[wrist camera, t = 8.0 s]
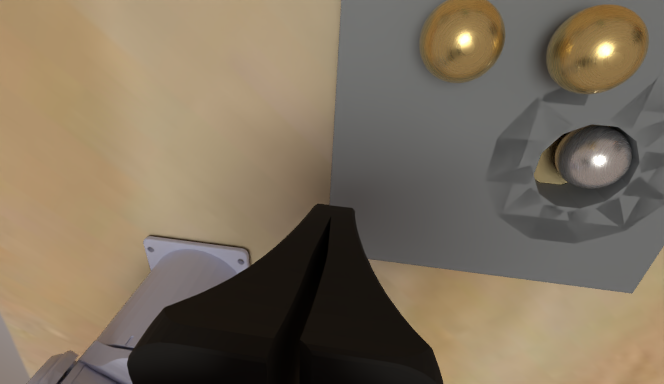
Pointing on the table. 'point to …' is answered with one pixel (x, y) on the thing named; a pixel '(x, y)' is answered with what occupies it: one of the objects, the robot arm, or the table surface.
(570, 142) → the ball
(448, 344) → the table surface
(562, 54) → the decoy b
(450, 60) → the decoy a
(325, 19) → the table surface
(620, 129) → the plate
